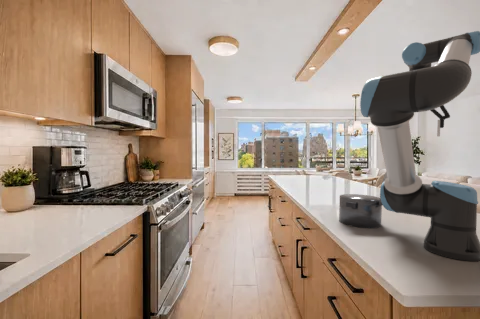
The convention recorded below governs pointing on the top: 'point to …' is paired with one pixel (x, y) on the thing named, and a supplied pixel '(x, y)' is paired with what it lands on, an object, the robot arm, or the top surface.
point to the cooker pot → (360, 210)
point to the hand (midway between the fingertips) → (417, 136)
